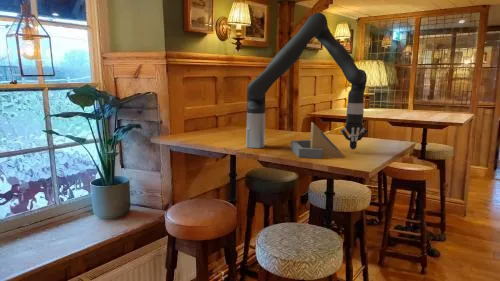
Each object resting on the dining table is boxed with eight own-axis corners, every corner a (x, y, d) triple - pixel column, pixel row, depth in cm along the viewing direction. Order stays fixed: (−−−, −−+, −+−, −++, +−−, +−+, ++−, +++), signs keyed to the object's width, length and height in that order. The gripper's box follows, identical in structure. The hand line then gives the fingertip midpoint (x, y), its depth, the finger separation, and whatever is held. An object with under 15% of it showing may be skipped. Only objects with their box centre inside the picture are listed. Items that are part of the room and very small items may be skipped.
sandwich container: (346, 158, 161) (348, 124, 158) (311, 157, 162) (313, 124, 159) (342, 153, 169) (344, 122, 166) (309, 153, 170) (311, 121, 168)
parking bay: (299, 158, 157) (300, 149, 157) (289, 147, 181) (289, 139, 180) (323, 158, 158) (323, 149, 158) (309, 147, 182) (310, 139, 181)
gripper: (365, 111, 172) (363, 147, 175) (338, 111, 171) (336, 147, 174) (372, 113, 165) (369, 150, 168) (343, 113, 164) (341, 150, 167)
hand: (352, 148), depth 171 cm, fingers closed
